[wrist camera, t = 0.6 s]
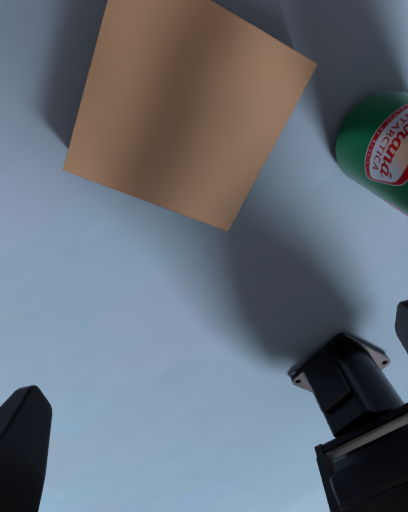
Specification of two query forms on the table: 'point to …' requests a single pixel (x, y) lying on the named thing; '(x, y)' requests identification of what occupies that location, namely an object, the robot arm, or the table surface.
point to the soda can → (378, 146)
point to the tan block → (183, 105)
